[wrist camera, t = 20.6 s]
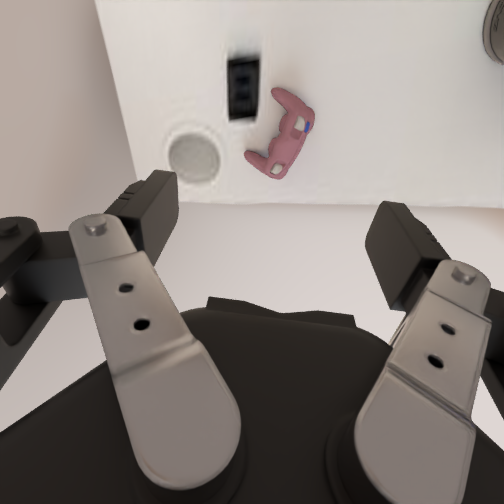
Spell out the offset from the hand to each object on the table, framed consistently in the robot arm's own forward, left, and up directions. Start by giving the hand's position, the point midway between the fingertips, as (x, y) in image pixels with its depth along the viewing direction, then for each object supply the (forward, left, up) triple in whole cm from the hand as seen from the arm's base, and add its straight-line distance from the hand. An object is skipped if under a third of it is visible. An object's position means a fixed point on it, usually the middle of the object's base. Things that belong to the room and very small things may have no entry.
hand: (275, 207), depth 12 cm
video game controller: (-1, +5, -30) cm, 31 cm away
